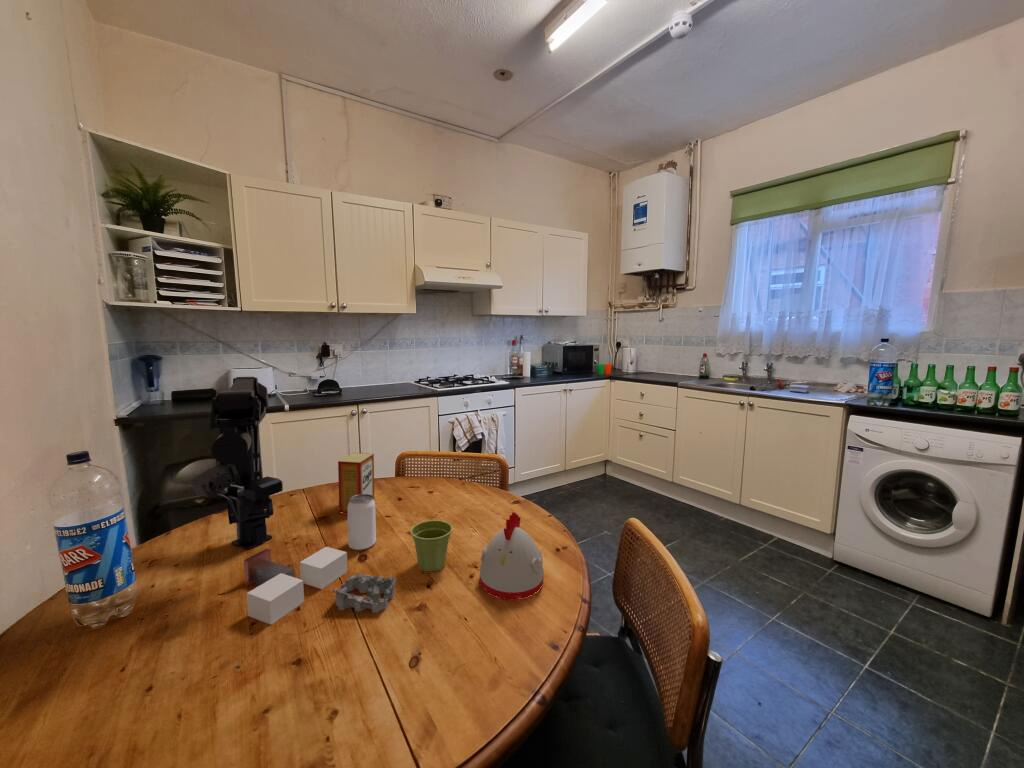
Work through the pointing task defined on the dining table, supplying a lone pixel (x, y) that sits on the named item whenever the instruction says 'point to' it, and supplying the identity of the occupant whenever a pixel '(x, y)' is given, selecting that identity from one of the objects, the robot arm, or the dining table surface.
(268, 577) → the l-shaped block
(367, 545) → the can
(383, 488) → the dining table surface
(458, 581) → the dining table surface
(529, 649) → the dining table surface
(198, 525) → the dining table surface
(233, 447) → the robot arm
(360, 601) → the egg carton
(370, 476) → the baking soda box
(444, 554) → the plant pot
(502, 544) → the kitchen timer
